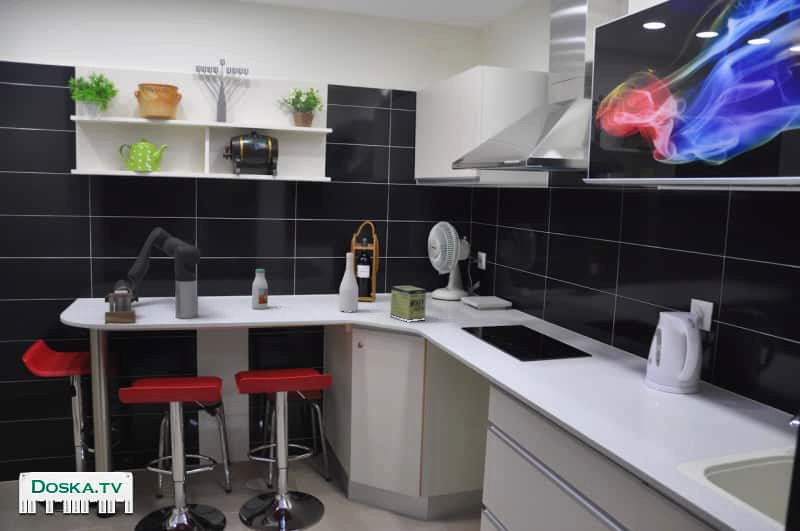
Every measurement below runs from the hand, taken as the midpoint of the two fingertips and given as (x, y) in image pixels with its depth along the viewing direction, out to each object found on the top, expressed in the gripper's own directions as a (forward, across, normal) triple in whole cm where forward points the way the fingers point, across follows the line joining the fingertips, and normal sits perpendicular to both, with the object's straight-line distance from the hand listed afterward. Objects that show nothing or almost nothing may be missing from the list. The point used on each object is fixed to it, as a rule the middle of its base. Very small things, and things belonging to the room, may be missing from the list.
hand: (120, 301), depth 294 cm
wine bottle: (-6, +107, +9) cm, 108 cm away
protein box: (+17, +131, +9) cm, 132 cm away
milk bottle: (-20, +64, +9) cm, 68 cm away
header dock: (-2, 0, +9) cm, 9 cm away
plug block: (-2, 0, +8) cm, 8 cm away
